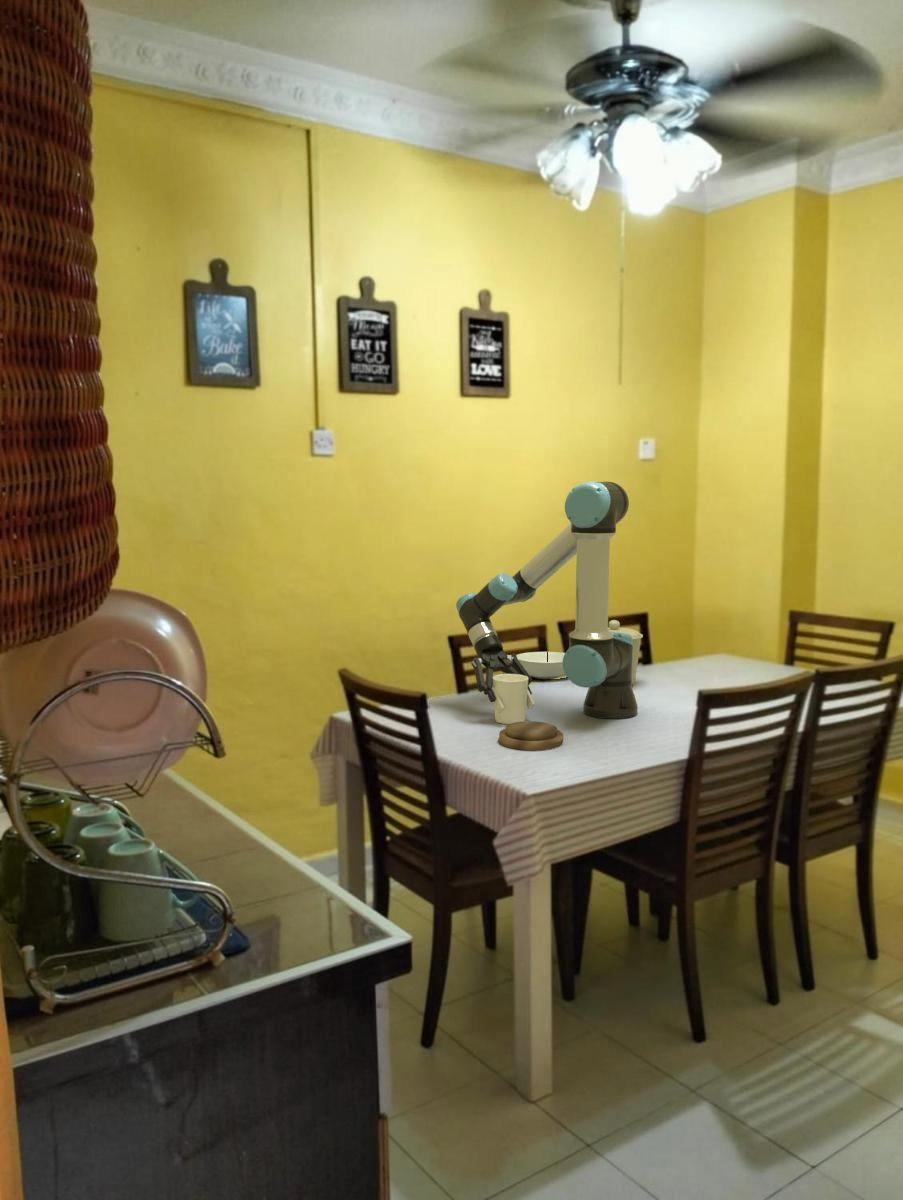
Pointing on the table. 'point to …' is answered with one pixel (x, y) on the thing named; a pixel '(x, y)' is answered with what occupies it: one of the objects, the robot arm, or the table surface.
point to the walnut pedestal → (530, 736)
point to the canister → (635, 641)
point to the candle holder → (511, 697)
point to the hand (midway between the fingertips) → (516, 708)
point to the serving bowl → (542, 664)
